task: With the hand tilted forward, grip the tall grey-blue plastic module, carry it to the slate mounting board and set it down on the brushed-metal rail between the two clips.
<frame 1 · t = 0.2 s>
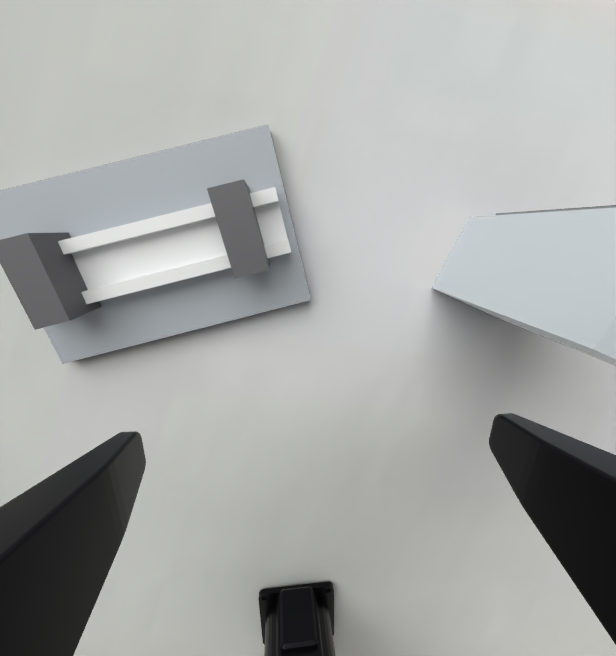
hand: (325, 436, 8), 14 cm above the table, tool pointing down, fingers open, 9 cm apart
rail: (163, 251, 20), on the table
module: (486, 271, 22), on the table
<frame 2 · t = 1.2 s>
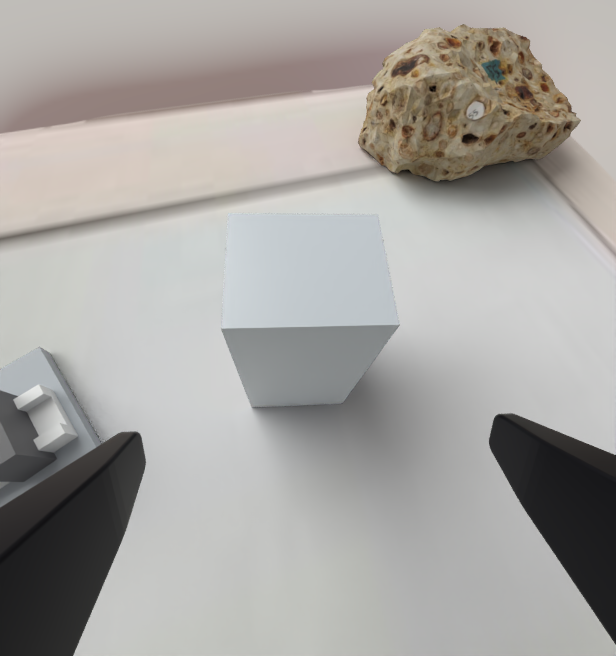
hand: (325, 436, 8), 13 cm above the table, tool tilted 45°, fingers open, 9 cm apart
module: (295, 369, 23), on the table
rock: (448, 145, 35), on the table
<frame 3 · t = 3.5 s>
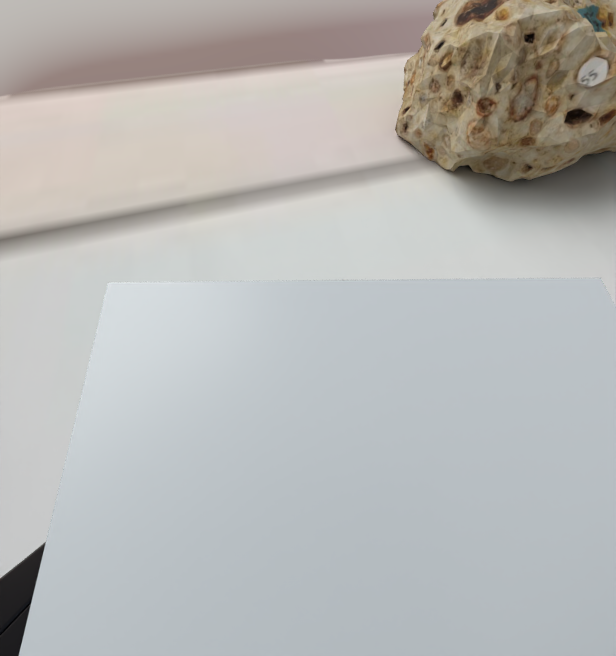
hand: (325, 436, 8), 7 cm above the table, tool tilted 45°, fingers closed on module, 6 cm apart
module: (309, 492, 14), on the table, touching gripper
rock: (513, 132, 26), on the table
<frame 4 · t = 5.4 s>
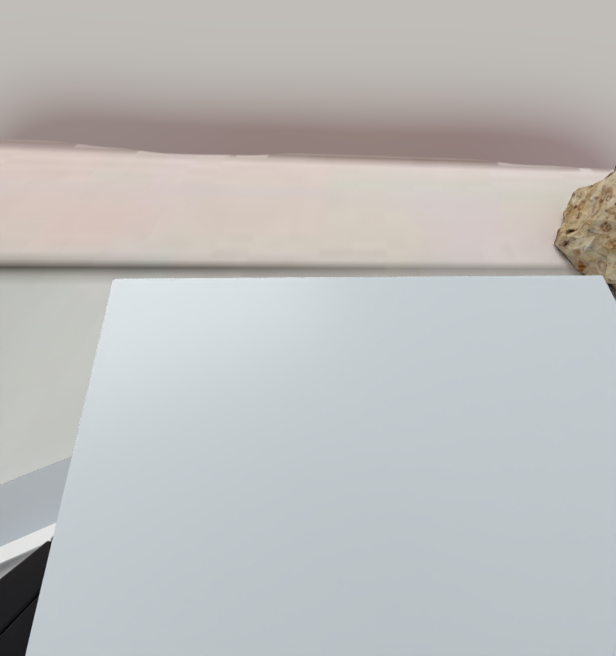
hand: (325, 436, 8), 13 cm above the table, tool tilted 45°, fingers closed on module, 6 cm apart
rail: (90, 550, 18), on the table
module: (310, 491, 14), point 7 cm above the table, touching gripper
when the fingers open (10 cm above the table, at t = 7.2 s): module drops 1 cm, resting on rail.
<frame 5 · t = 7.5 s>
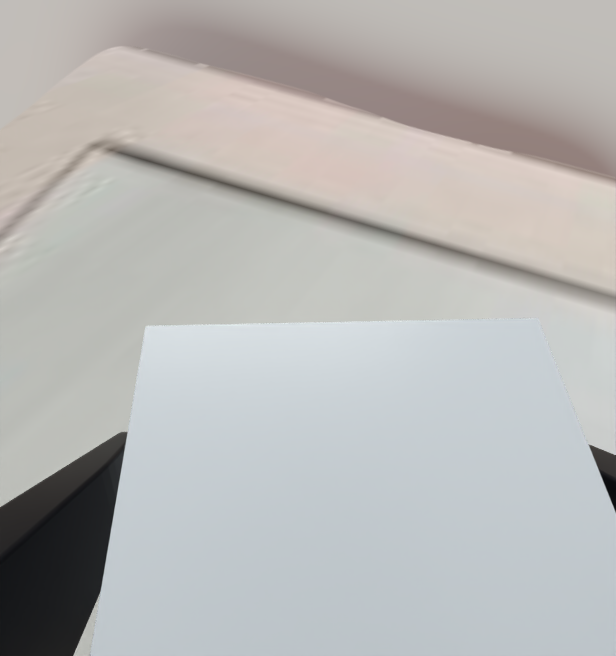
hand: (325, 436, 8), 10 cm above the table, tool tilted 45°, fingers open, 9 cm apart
module: (307, 491, 15), point 2 cm above the table, touching rail
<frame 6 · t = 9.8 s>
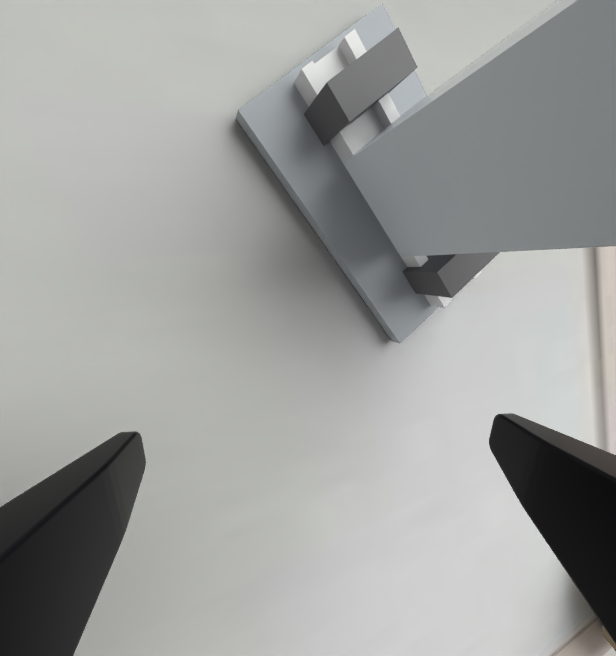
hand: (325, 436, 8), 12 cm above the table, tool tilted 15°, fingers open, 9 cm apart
rail: (383, 194, 20), on the table
module: (405, 185, 18), point 2 cm above the table, touching rail
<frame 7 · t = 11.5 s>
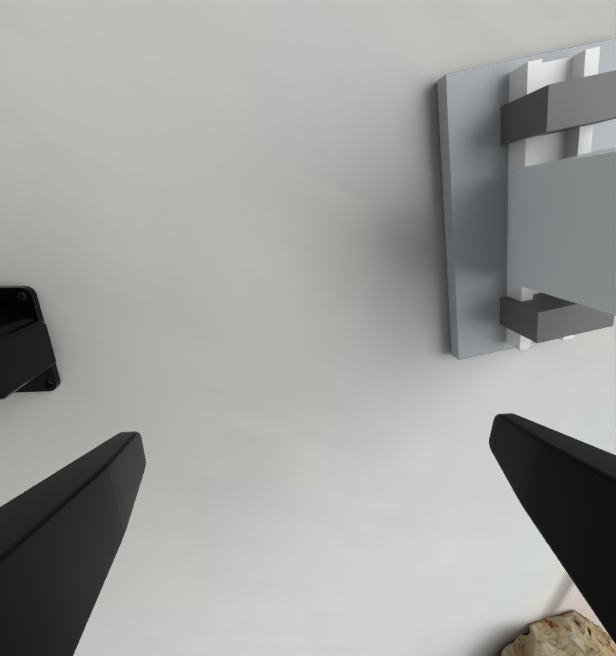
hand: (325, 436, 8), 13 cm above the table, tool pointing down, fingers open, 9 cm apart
rail: (524, 219, 20), on the table
module: (554, 219, 18), point 2 cm above the table, touching rail
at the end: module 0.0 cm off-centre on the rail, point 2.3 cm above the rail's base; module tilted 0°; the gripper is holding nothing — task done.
